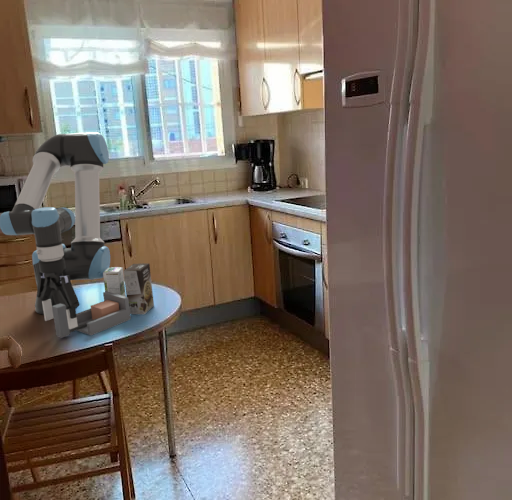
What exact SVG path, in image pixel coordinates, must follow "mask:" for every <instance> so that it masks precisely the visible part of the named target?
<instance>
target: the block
mask: <svg viewBox="0 0 512 500" xmlns="http://www.w3.org/2000/svg"><path fill="white" fill-rule="evenodd" d="M90 309H91V313H92V321H93V320H96V319H98V318H101V317H103V316H106V315H109V314H111V313H114V312H116V311H119V303H118V302H114V301H111V300H105V301H104V300H102V301H100V302H98V303H95V304H92V305H90ZM52 311H53V317H54V318H53V321H54V330H55V334H56V337H58V338H60V339H62V338H65V337H67V336H70V335H71V333H73V332H75V331H77V330H78V329H81V328H83V327H86V326H87V323H88V322H87V323H84V324H81V325H79V326H78V327H75V328H72V329H69V327H68V320H67V313H66V305H64V304H61V303H60V304H57V305H54V306H52ZM89 322H90V321H89Z"/></svg>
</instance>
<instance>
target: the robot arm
mask: <svg viewBox="0 0 512 500" xmlns="http://www.w3.org/2000/svg"><path fill="white" fill-rule="evenodd" d="M109 160H110V155H109V148H108V145H107V142H106V140H105V138H104V136H103V134H102V133H100V132H97V131H95V132H93V131H91V132H90V131H87V132H74V133H59V134H55V135H53V136H51V137H49V138H48V139H47V140H45V141H44V142H43V143H42V144H41V145H40V146H39V147H38V148H37V149H36V151H35V152H34V155H33V157H32V167H31V168H30V171H29V173H28V176H27V178H26V179H25V182H24V184H23V186H22V189H21V191H20V193H19V196H18V197H17V199H16V201H15V203H14V206H13V208H12V210H11V211H10V210H8V211H4V212H3V213H1V214H0V230H1V232H2V233H3V235H5V236H24V235H25V236H27V235H34V239H35V247H36V250H34V251H33V252H32V254H31V258H32V267H33V271H34V279H35V283H36V290H37V291H36V298H35V303H34V308H35V312H36V313H37V314H40V315H43V316H44V321H45V322H47V321H50V320H52V319H53V320H54V317H53V311H52V306H54V305H57V304H60V303H61V304H64V305H66V313H67V320H68V327H69V329H72V328H75V327H78V324H77V317H76V314H77V310H76V308H77V307H79V306H80V305H81V303H80V302H79V299H78V296H77V294H76V291H75V289H74V286H73V284H72V282H71V281H79V280H80V281H82V280H83V281H84V280H85V281H86V280H87V281H88V280H91V281H92V280H93V281H94V280H98V279H99V280H100V279H104V277H103V272H104V271H105V270H106V269H107V268H110V266H111V254H110V252H111V251H110V248H109V247H108V246H106V245H105V241H104V240H103V239H102V238H101V218H100V217H101V216H100V215H101V213H100V212H101V211H100V209H101V202H100V197H101V196H100V174H101V173H102V172H103V171H104V165H106V164H108V163H109ZM64 166H67V167H68V166H70V170H71V171H72V172H73V173H74V204H75V205H74V211H75V212H73V211H72V210H71V209H70V208H67V207H63V206H62V207H58V208H57V207H53V206H47V207H46V206H45V207H41V206H42V204H43V202H44V199H45V197H46V195H47V193H48V191H49V187H50V185H51V183H52V180H53V177H54V176H55V174H56V173H58V172H59V171H60V168H62V167H64ZM73 226H75V229H74V230H75V231H74V233H75V234H74V235H75V236H74V237H75V238H74V239H72V241H70V245H71V246H70V247H68V248H67V246H66V245H65V243H63V241H62V239H63V238H62V234H63V233H65V232H68V231H69V230H70V229H71V228H72V227H73Z"/></svg>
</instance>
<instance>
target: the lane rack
mask: <svg viewBox="0 0 512 500" xmlns="http://www.w3.org/2000/svg"><path fill="white" fill-rule="evenodd" d="M102 294H103V301H105V300H111V301H114V302H118V303H119V311H116V312H114V313H111V314H109V315H106V316H103V317H101V318H98V319H96V320H93V321H92V313H91V308H88V309H85V310H83V311H80V312H76V317H77V324H78V326H79V325H81V324H84V323H87V322H88V323H87V326H86V327H83V328H81V329H78V330H76V331H77V332H81V333H83V334H86V335H87V336H95V335H96V334H99V333H101V332H103V331H106V330H108V329H111V328H113V327H116V326H118V325H120V324H123V323H126V322H127V321H130V320H131V319H132V317H131V314H130V308H129V300H128V297H126V296H122V295H118V294H114V293H111V292H107V291H106V292H105V291H103V292H102ZM89 321H90V322H89Z"/></svg>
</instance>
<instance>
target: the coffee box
mask: <svg viewBox="0 0 512 500" xmlns="http://www.w3.org/2000/svg"><path fill="white" fill-rule="evenodd" d="M123 275H124V284H125V294H126V297H128V300H129V308H130V315H143V316H144V315H146V314H147V313H148V312H149V311H150V310H151V309H152V308H153V307H154V306H155V303H154V293H153V285H152V275H151V265H150V263H148V262H147V263H133V264H132V265H129V266H128V267H127V268H125V269H123Z"/></svg>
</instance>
